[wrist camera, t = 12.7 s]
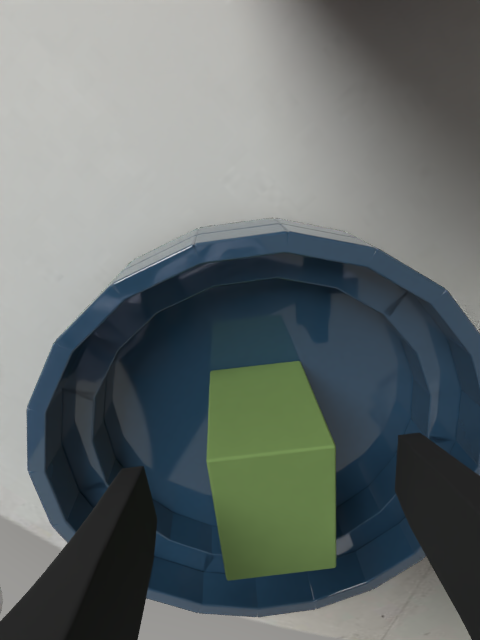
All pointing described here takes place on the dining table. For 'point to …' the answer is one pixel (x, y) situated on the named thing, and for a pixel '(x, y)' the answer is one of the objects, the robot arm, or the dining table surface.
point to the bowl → (242, 351)
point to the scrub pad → (271, 471)
